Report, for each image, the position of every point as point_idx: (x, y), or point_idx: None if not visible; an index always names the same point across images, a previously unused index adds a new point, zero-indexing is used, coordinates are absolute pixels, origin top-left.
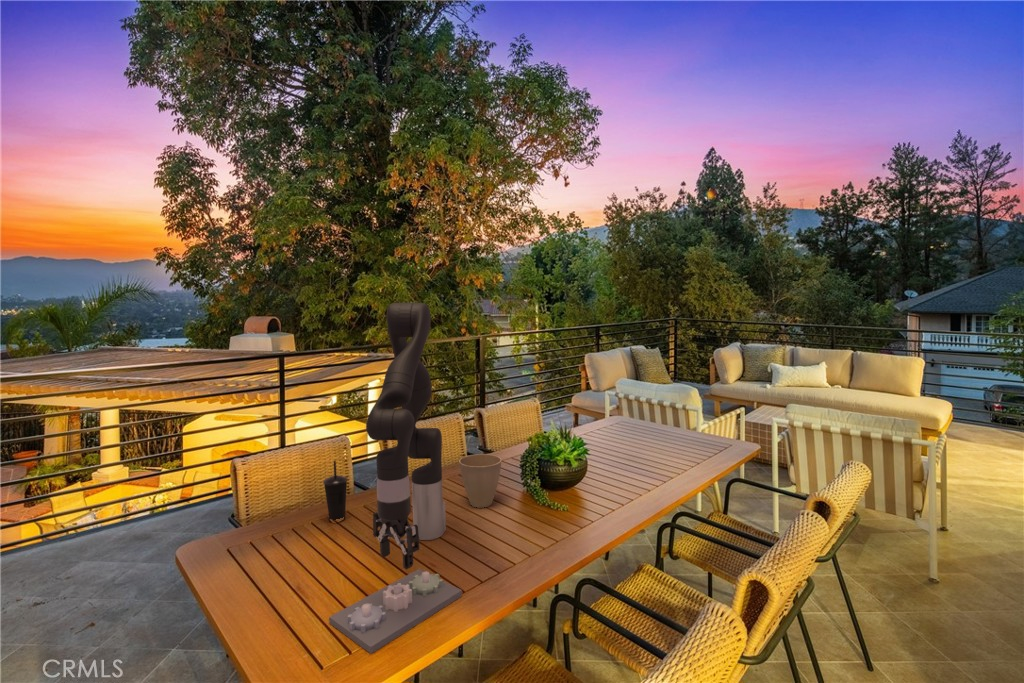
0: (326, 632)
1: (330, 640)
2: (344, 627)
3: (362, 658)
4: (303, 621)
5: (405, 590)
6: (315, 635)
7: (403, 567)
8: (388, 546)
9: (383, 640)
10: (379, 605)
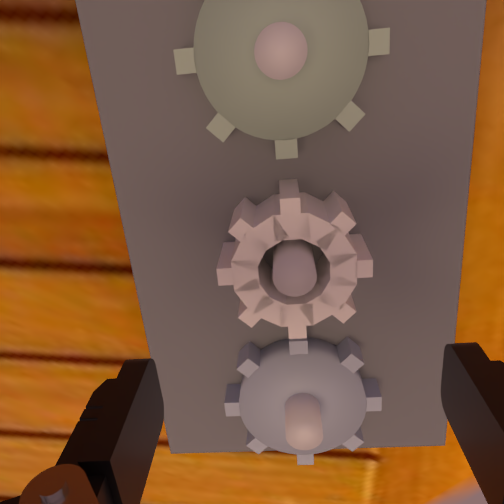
0: (217, 457)
1: (266, 466)
2: (272, 449)
3: (429, 448)
4: None
5: (327, 243)
6: (206, 480)
7: (445, 411)
8: (135, 420)
9: None
10: None
